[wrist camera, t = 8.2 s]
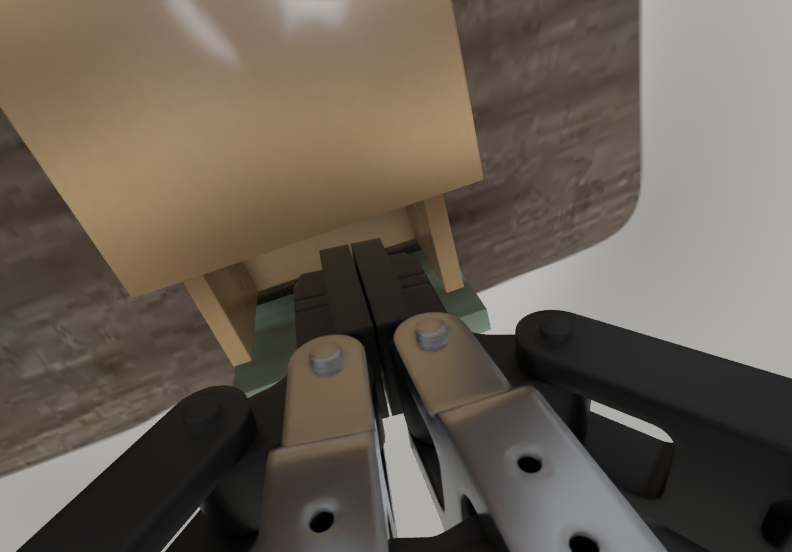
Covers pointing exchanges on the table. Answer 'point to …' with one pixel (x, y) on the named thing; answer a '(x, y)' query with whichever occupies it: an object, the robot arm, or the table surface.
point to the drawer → (275, 321)
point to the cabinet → (234, 120)
